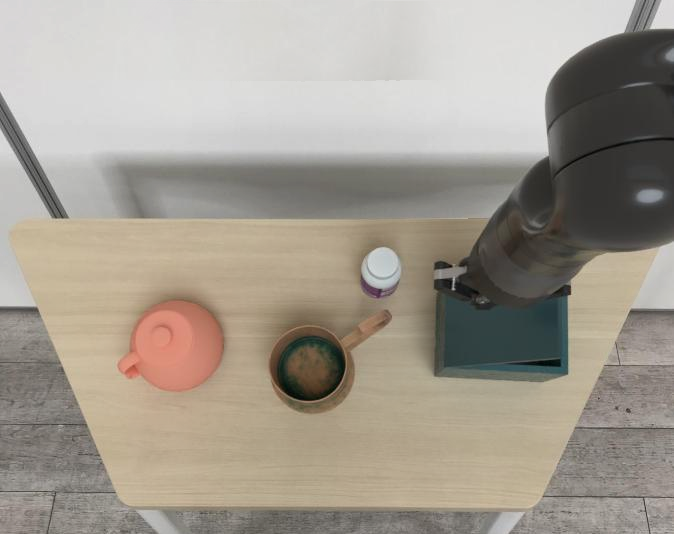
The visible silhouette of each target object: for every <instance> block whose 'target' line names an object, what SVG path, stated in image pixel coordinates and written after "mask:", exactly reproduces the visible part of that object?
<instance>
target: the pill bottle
mask: <svg viewBox="0 0 674 534" xmlns="http://www.w3.org/2000/svg"><path fill="white" fill-rule="evenodd" d="M402 273H403V265H402V261H401V259H400V258H399V256H398V254H397V253H396V252H395V251H394V250H393V249H391V248H389V247H385V246H381V247H377V248H374V249H372V250H371V251H370V252H368V253H367V254H366V255H365V257H364V258H363V260H362V263H361V265H360V277H359V279H360V280H359V283H360V284H359V285H360V288H361V291H362V292H363V293H364V294H365V295H366V296H367V297H369V298H370V299H372V300H375V301H376V300H377V301H379V300H385V299H388V298H389V297H391V296H392V295H393V294H394V293H395V292H396V291H397V289H398V286H399V284H400V280H401V277H402Z"/></svg>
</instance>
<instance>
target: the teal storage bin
mask: <svg viewBox="0 0 674 534" xmlns="http://www.w3.org/2000/svg"><path fill="white" fill-rule="evenodd" d="M445 296H446V294H444V293H441V292H439V291H437V292H436V298H435V299H436V301H435V333H434V334H435V338H434V339H435V340H434V370H433V371H434V372H433V373H434V374H433V375H434V378H451V379H452V378H453V379H468V380H469V379H470V380H487V381H488V380H489V381H490V380H491V381H507V382H508V381H510V382H528V383H546V382H549V381H552V380H556V379H559V378H562V377H565V376H568V375H569V302H568V301H569V296H566V297H562V345H563V358H562V359H553V360H541V361H529V362H517V363H505V364H493V365H481V366H469V367H457V368H444V335H445Z"/></svg>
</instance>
